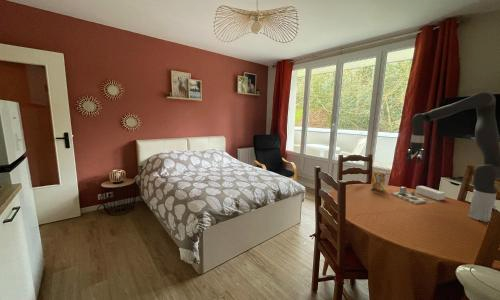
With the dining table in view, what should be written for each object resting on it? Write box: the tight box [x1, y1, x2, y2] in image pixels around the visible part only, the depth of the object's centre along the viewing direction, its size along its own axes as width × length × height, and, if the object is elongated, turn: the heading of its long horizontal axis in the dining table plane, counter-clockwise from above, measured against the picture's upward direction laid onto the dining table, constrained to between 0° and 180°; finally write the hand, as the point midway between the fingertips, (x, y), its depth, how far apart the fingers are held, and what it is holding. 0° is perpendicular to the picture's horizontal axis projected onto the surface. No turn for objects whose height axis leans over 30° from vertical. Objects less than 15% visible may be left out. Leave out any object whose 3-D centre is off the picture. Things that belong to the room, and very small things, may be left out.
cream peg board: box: [390, 191, 427, 205], centre depth 157 cm, size 18×10×2 cm, turn 15°
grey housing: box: [415, 185, 446, 201], centre depth 162 cm, size 16×6×6 cm, turn 15°
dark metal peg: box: [399, 186, 408, 196], centre depth 160 cm, size 4×4×8 cm
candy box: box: [370, 170, 387, 191], centre depth 175 cm, size 9×4×15 cm, turn 44°
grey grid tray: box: [406, 190, 436, 204], centre depth 159 cm, size 20×7×4 cm, turn 15°
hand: (414, 163), depth 158 cm, fingers open, 8 cm apart
